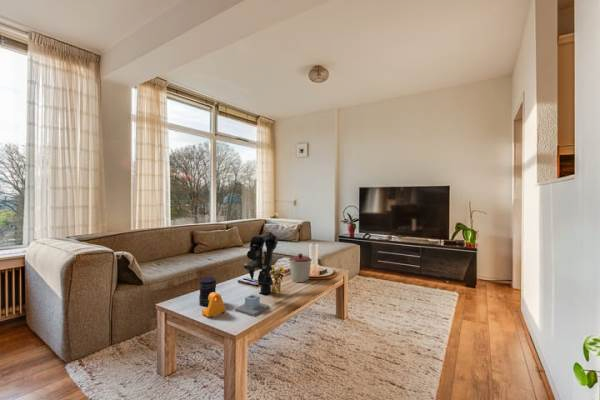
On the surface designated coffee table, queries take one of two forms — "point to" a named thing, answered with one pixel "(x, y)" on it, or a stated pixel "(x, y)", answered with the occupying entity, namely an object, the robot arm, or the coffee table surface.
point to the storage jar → (206, 290)
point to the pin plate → (252, 312)
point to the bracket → (214, 305)
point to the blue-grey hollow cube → (252, 301)
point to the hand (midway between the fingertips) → (257, 280)
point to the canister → (300, 268)
